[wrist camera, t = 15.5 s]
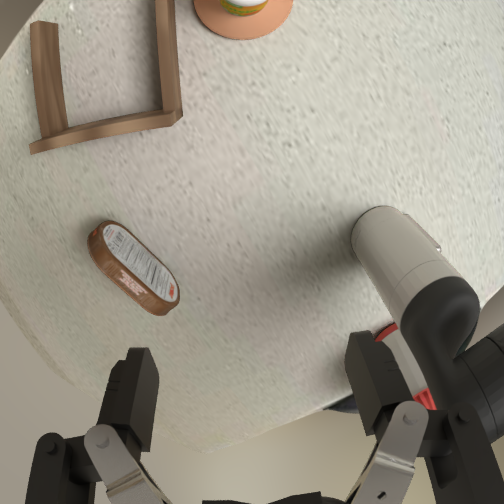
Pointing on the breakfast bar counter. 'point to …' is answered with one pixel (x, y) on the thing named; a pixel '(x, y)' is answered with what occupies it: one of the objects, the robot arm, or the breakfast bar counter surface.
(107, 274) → the tin
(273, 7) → the coaster
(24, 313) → the breakfast bar counter surface
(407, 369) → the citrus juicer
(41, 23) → the cubby
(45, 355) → the breakfast bar counter surface
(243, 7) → the supplement bottle
